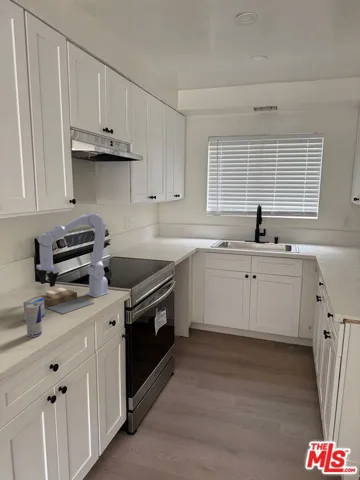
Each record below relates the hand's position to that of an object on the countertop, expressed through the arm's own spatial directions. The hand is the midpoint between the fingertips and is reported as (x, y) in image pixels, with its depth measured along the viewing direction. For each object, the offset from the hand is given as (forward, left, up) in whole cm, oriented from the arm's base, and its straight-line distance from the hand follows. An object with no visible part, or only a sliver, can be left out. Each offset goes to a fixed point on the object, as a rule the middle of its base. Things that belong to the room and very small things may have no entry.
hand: (47, 285), depth 164 cm
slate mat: (-4, +12, -9) cm, 16 cm away
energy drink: (+24, +27, -9) cm, 38 cm away
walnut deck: (-4, +1, -9) cm, 10 cm away
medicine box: (+15, +12, -9) cm, 22 cm away
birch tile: (-4, +1, -6) cm, 7 cm away
